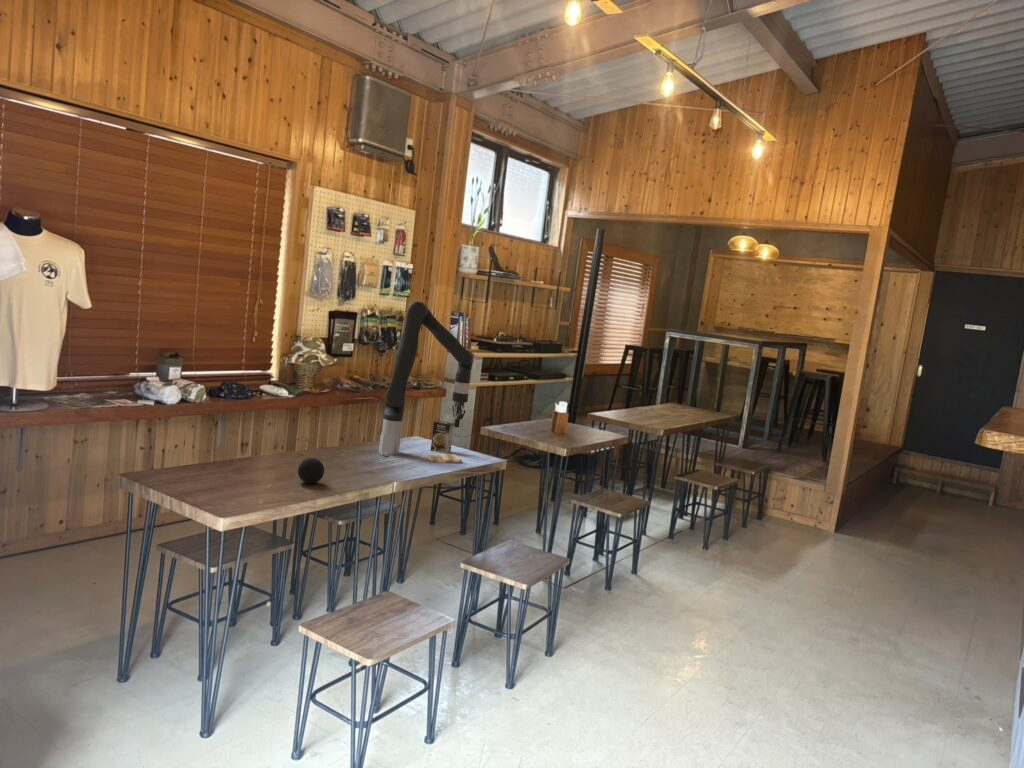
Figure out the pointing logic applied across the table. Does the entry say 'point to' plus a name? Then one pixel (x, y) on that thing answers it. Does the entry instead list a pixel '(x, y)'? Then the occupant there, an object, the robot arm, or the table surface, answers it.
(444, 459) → the loose plank
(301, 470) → the speaker
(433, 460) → the plank
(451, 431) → the coffee box
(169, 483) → the table surface
